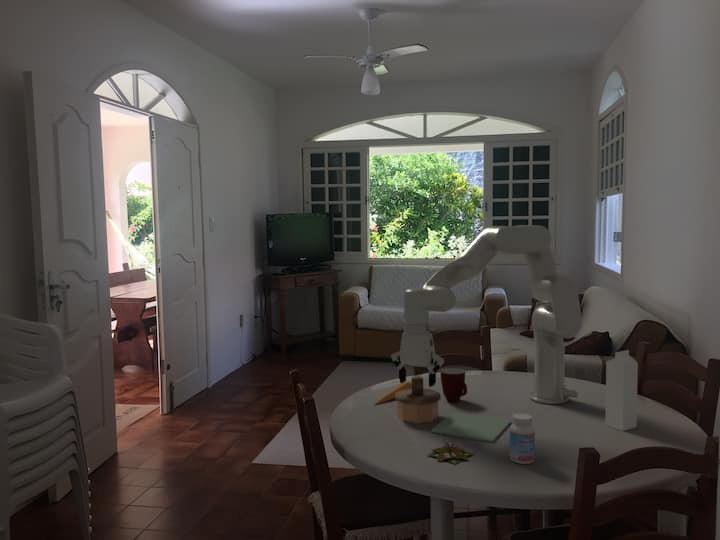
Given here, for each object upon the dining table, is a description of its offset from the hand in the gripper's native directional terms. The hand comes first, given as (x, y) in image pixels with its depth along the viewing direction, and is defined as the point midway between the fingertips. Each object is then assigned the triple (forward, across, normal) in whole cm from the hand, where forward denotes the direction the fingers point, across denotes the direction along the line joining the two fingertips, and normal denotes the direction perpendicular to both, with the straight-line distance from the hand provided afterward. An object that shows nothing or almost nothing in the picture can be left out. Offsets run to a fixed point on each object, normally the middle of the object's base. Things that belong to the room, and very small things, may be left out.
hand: (417, 383), depth 184 cm
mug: (+10, -5, -20) cm, 23 cm away
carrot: (+11, +16, -14) cm, 23 cm away
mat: (+10, -18, +2) cm, 21 cm away
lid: (+4, 0, 0) cm, 4 cm away
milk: (+10, -56, -18) cm, 60 cm away
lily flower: (+11, -20, +24) cm, 33 cm away
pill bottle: (+10, -37, +19) cm, 43 cm away
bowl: (+10, 0, 0) cm, 10 cm away
